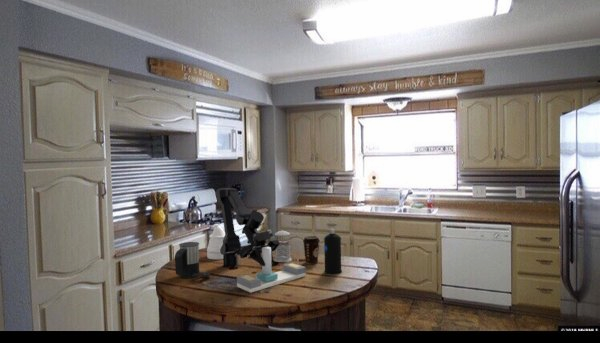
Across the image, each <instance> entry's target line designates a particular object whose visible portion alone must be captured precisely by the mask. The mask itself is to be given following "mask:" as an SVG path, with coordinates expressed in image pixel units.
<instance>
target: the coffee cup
mask: <svg viewBox="0 0 600 343" xmlns="http://www.w3.org/2000/svg"><path fill="white" fill-rule="evenodd" d="M302 241H303V250H304V259H305V264H307V265H315V264H317V263H319V262H318V261H319V250H320V245H319V243H320V241H321V240H320V238H319V237H318V236H316V235H315V236H314V235H310V236H309V235H308V236H305V237H304V239H303V240H302Z"/></svg>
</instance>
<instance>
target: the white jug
mask: <svg viewBox="0 0 600 343" xmlns="http://www.w3.org/2000/svg"><path fill="white" fill-rule="evenodd" d="M213 228H214V230H213V231H212V233H211V234H210V235H209V237H208V238H209V241H208V246H207V248H206V249H207V250H206V254H207V255H206V258H207V259H208V260H223V255H222V254H221V253H220V249H221V247H222V245H223V239H224V236H225V229H223V228H222V227H221V226H219V224H217V223H216V224H213Z"/></svg>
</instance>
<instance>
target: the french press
mask: <svg viewBox="0 0 600 343" xmlns="http://www.w3.org/2000/svg"><path fill="white" fill-rule="evenodd" d="M279 215H280V216H284V215H285V214H284V212H280V213H279ZM290 235H291V233H290V232H288V231H286V230H283V229H281V230H278V231H276V232H275V233H274V236H272V237H271V238H270V240H273V239H274V240H275V239H277V238H276V236H277V237H281V238H282V239H277V240H278V241H279V242H280V244H279V246H278V247H277V249H276V250H275V251H274V254H275V255H274V258H273V262H278V263H287V262H291V261H292V260H293V259H292V258H291V244H290V240H288V239H284V237H286V236H290Z"/></svg>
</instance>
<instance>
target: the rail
mask: <svg viewBox="0 0 600 343" xmlns="http://www.w3.org/2000/svg"><path fill="white" fill-rule="evenodd" d="M306 268H307V267H306V266H303V265H301V264H297V263H293V262H289V263H285V264H282V270H279V271H276V272H275V271H274V273H276V274H278V279H275V280H272V281H268V282H265V281H262V280H260V279H257V277H254V276H252V275H249V274H244V275H239V276H237V277H236V287H237V288H238V289H239V288H240V289H242V290H244V291H245V292H249V293H250V294H251V293H254V292H255V293H256V292H257V291H261V290H264V289H267V288H271V287H275V286H277V285H280V284H283V283H288V282H291V281H294V280H297V279H301V278H303V277H306V276H307V269H306Z"/></svg>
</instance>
